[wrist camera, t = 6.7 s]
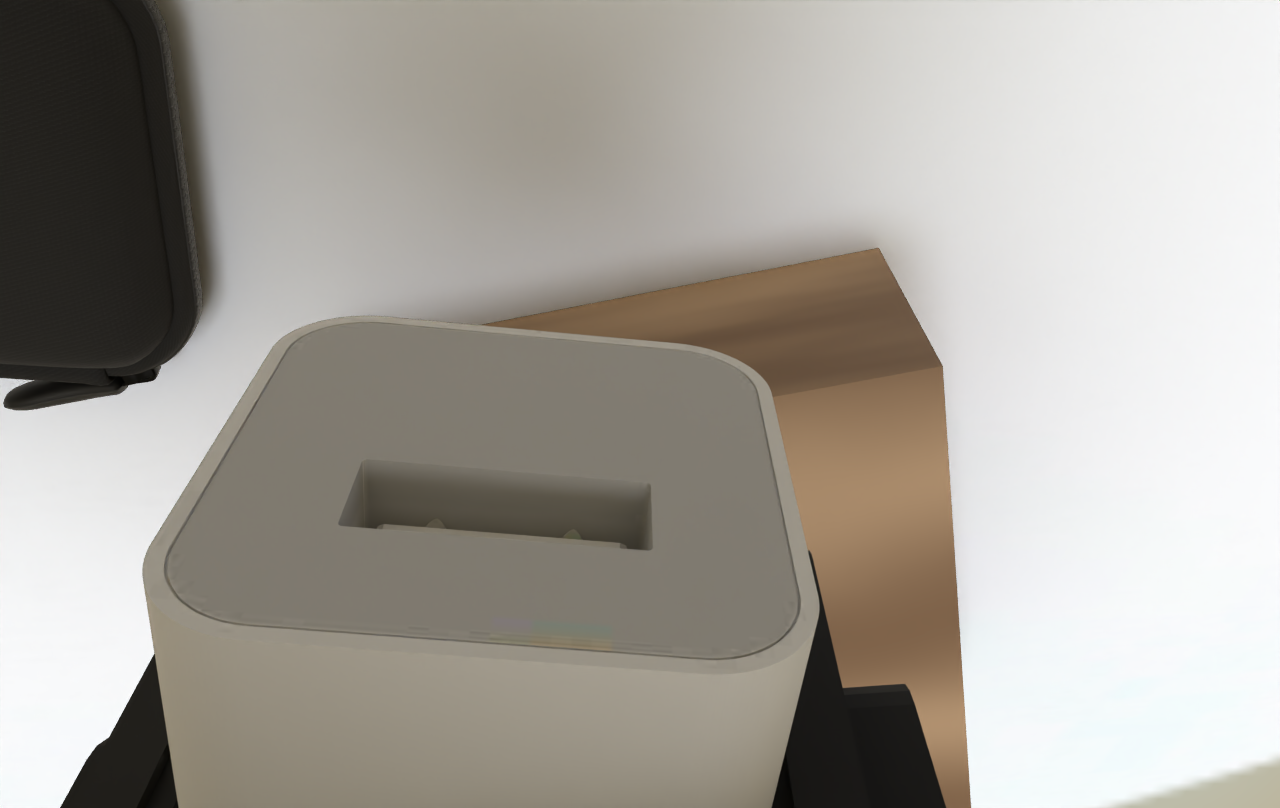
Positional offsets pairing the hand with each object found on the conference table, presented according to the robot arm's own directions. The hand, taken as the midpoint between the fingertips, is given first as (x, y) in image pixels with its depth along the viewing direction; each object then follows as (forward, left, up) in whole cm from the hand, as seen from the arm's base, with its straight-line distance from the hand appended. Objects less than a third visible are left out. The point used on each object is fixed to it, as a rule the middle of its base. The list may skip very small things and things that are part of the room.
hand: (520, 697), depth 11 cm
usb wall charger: (0, 0, -1) cm, 1 cm away
